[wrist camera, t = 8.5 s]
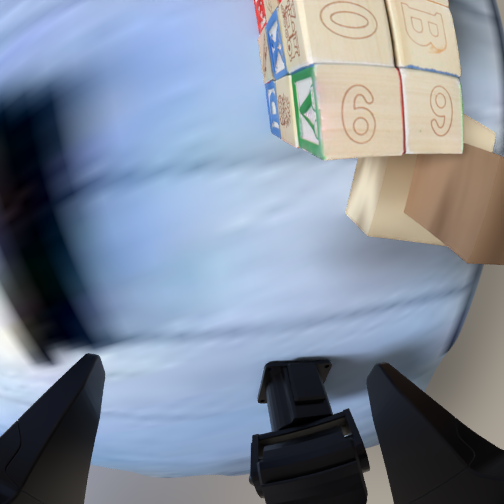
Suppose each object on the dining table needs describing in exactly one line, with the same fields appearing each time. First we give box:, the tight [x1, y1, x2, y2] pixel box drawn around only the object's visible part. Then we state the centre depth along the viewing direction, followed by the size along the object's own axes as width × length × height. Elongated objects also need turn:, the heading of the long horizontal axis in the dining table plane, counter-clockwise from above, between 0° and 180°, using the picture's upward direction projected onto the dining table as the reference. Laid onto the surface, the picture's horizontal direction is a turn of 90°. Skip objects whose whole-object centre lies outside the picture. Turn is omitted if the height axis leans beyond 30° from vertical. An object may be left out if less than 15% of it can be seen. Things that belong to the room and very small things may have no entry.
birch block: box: [345, 114, 496, 246], centre depth 16 cm, size 9×9×4 cm
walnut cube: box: [404, 143, 504, 265], centre depth 12 cm, size 5×5×6 cm
